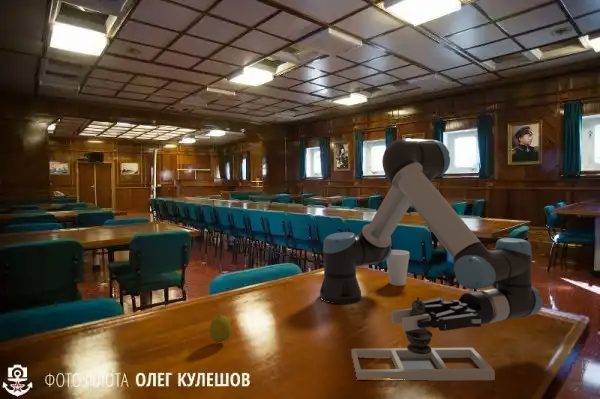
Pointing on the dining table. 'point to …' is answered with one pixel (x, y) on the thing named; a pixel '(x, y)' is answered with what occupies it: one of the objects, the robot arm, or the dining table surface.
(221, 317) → the lemon
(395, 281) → the foam cup
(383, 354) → the pocket rack
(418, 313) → the dark chess piece
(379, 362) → the dining table surface
